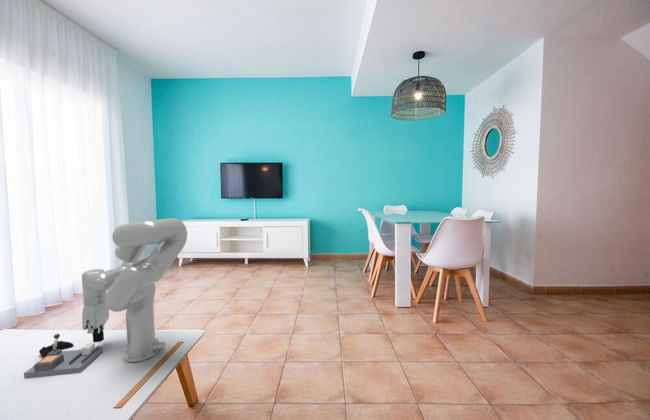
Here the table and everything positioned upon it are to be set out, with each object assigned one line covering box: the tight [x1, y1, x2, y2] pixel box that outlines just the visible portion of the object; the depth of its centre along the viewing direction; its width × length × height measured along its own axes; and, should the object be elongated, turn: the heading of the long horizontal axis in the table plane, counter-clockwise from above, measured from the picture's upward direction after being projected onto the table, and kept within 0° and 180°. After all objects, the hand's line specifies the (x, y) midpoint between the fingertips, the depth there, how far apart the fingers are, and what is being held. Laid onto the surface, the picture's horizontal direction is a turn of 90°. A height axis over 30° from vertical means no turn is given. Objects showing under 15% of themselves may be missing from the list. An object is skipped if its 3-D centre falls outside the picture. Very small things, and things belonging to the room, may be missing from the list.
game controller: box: [38, 340, 74, 358], centre depth 116 cm, size 10×5×7 cm
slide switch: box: [80, 342, 96, 355], centre depth 111 cm, size 3×3×3 cm
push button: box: [38, 355, 59, 364], centre depth 103 cm, size 4×4×2 cm
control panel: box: [23, 345, 104, 379], centre depth 107 cm, size 18×13×5 cm
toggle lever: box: [53, 333, 61, 351], centre depth 111 cm, size 2×2×6 cm
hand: (98, 341), depth 117 cm, fingers closed
